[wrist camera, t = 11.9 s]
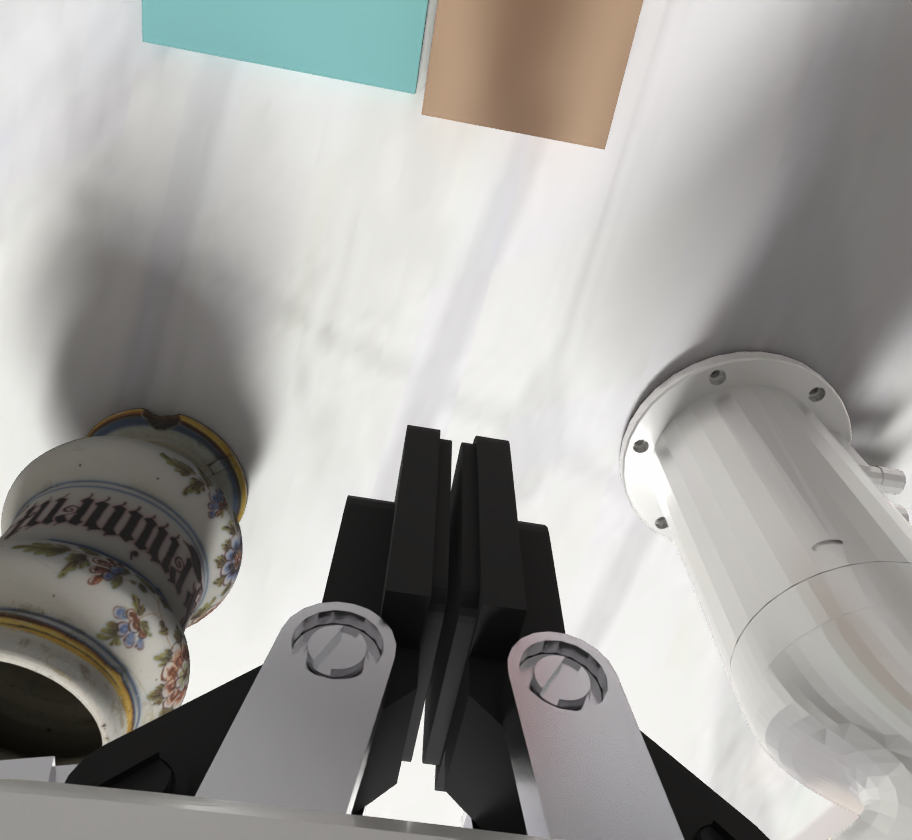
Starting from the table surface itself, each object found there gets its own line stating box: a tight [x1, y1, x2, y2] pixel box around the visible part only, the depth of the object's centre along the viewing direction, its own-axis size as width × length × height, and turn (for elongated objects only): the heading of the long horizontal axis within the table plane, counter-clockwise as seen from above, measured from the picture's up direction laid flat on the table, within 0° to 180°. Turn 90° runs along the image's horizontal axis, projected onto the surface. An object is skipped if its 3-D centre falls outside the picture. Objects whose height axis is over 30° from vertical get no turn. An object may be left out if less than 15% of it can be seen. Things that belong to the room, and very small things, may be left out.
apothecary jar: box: [0, 409, 247, 766], centre depth 37 cm, size 12×12×18 cm
